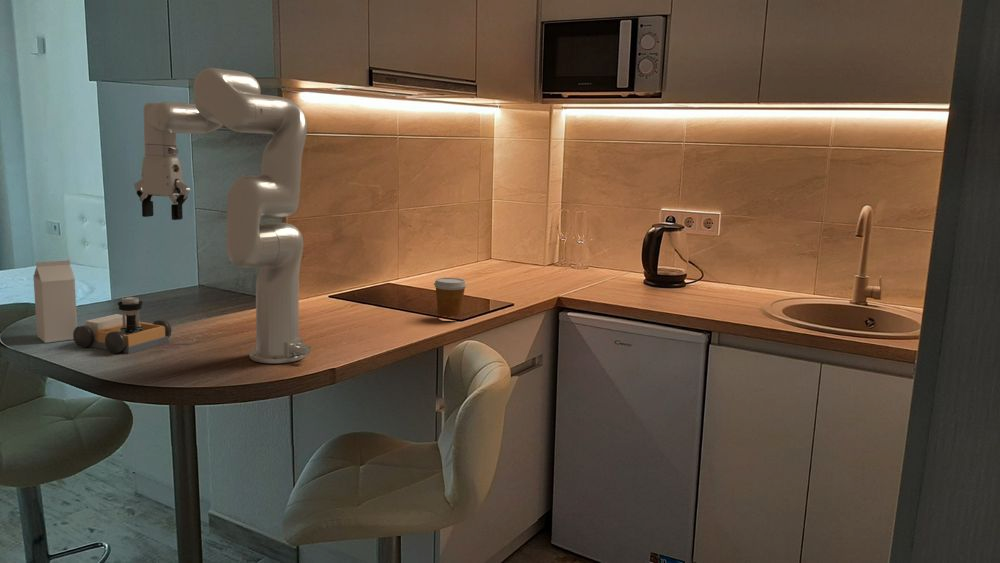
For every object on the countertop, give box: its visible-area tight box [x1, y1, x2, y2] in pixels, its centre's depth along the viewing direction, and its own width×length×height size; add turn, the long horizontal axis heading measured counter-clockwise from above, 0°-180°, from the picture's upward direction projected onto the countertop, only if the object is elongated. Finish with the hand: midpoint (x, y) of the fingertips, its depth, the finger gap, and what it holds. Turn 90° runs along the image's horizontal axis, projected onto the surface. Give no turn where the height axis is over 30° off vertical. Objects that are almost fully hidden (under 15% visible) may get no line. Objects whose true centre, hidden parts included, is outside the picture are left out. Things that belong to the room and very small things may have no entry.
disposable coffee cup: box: [433, 277, 467, 317], centre depth 222 cm, size 10×10×12 cm
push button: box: [117, 296, 143, 335], centre depth 179 cm, size 7×5×10 cm
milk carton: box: [33, 259, 78, 344], centre depth 181 cm, size 7×7×19 cm
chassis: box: [73, 313, 172, 354], centre depth 181 cm, size 16×15×6 cm
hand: (162, 218), depth 197 cm, fingers open, 9 cm apart
